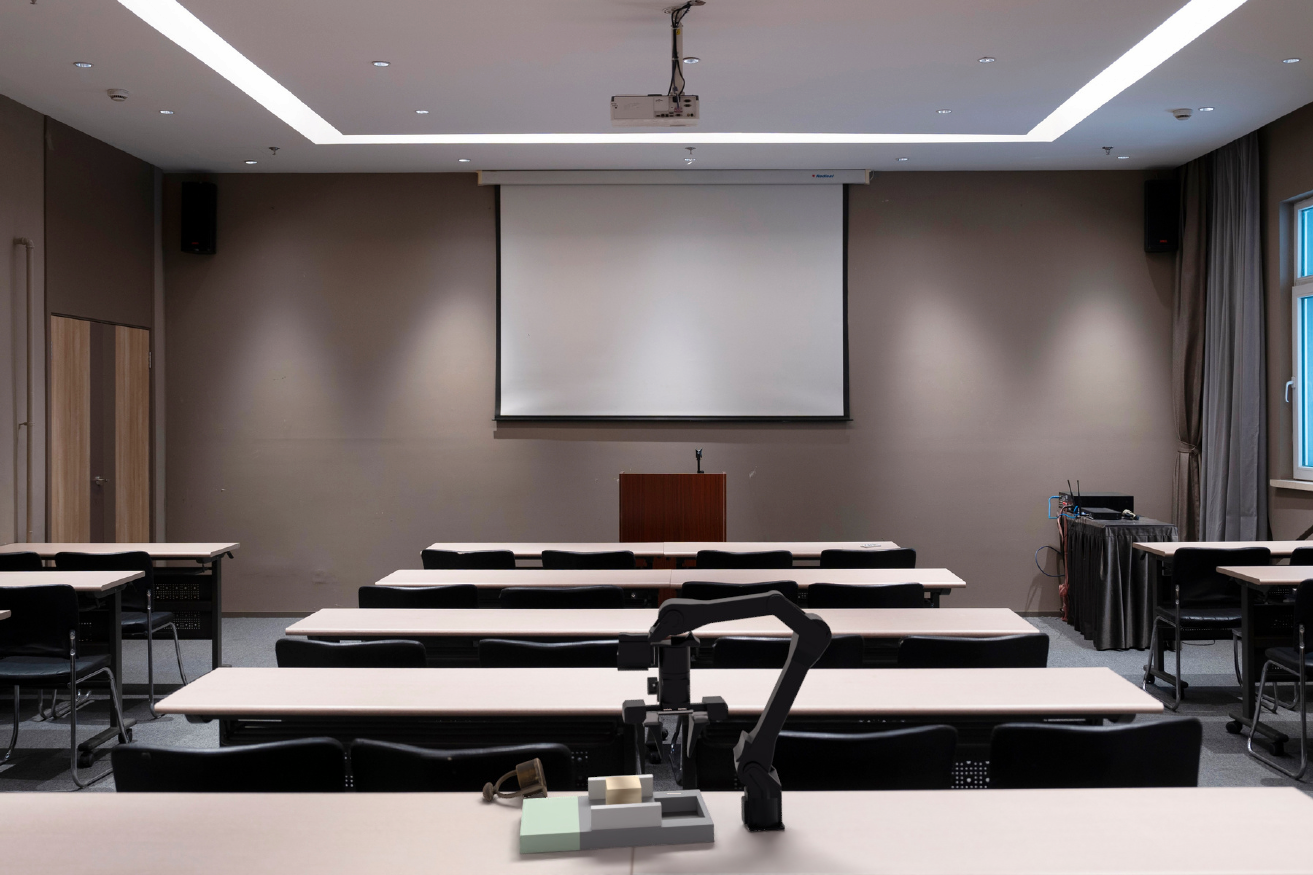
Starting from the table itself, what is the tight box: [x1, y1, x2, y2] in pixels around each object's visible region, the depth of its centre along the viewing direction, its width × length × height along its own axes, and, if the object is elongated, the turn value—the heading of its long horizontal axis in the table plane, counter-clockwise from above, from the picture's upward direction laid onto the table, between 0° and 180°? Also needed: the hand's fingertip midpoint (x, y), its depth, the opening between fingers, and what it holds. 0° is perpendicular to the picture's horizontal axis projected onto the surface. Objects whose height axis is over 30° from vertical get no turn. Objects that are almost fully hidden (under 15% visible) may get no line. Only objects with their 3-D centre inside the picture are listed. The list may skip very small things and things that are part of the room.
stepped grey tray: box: [519, 773, 715, 855], centre depth 159 cm, size 33×16×6 cm, turn 96°
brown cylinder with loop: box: [482, 757, 548, 802], centre depth 175 cm, size 7×13×10 cm
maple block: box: [604, 775, 642, 805], centre depth 159 cm, size 6×6×5 cm
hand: (675, 757), depth 161 cm, fingers open, 5 cm apart
